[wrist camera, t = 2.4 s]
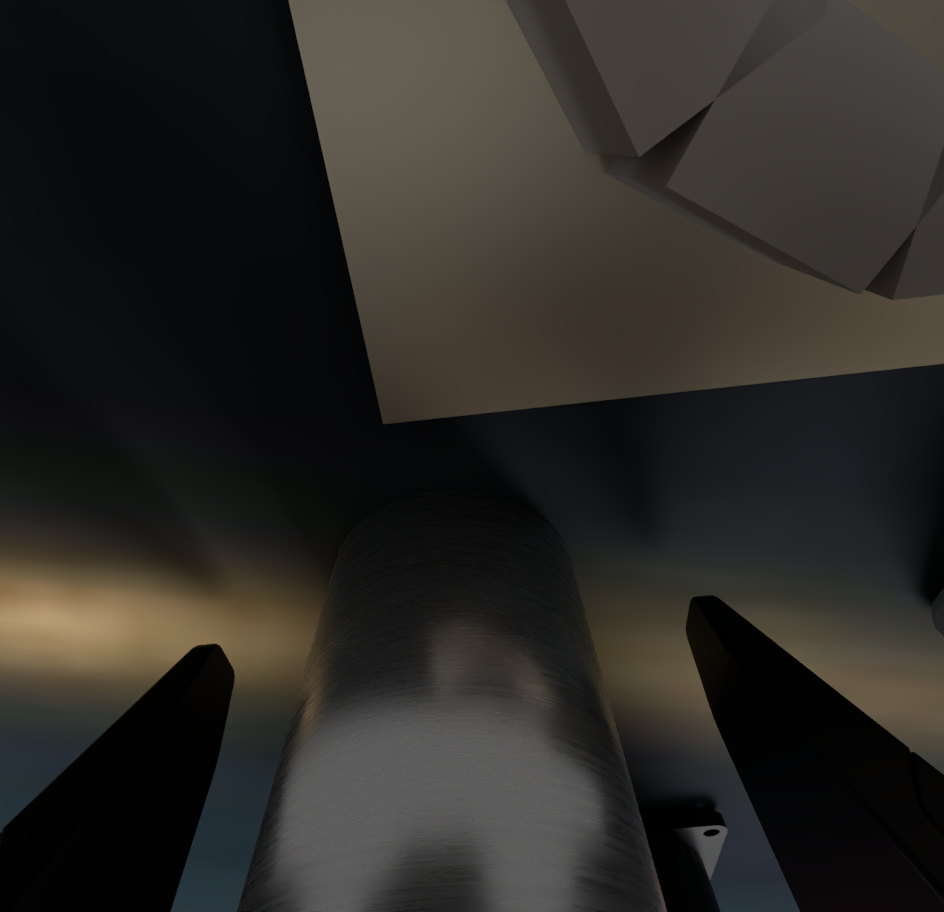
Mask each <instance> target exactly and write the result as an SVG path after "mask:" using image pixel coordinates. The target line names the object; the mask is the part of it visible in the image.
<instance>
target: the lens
mask: <svg viewBox="0 0 944 912" xmlns="http://www.w3.org/2000/svg"><path fill="white" fill-rule="evenodd" d="M237 912H667V909H666V906H665V902H664V899H663V895H662V891H661V888H660V884H659V880H658V877H657V873H656V869H655V866H654V862H653V858H652V855H651V851H650V848H649V844H648V840H647V837H646V833H645V829H644V826H643V822H642V818H641V815H640V811H639V808H638V804H637V800H636V797H635V793H634V789H633V786H632V782H631V778H630V775H629V771H628V768H627V764H626V760H625V757H624V753H623V749H622V746H621V742H620V738H619V735H618V731H617V727H616V724H615V720H614V717H613V713H612V709H611V706H610V702H609V698H608V695H607V691H606V687H605V684H604V680H603V677H602V673H601V669H600V666H599V662H598V658H597V655H596V651H595V647H594V644H593V640H592V637H591V633H590V629H589V626H588V622H587V618H586V615H585V611H584V607H583V604H582V600H581V596H580V593H579V589H578V586H577V582H576V578H575V575H574V571H573V567H572V564H571V560H570V557H569V553H568V550H567V548H566V546H565V544H564V542H563V540H562V538H561V537H560V536H559V534H558V533H557V531H556V530H555V529H554V528H553V527H552V526H551V525H550V524H549V523H548V522H547V521H546V520H545V519H544V518H543V517H541V516H540V515H539V514H537V513H536V512H535V511H533V510H532V509H530V508H528V507H526V506H525V505H523V504H521V503H519V502H516V501H514V500H512V499H509V498H507V497H504V496H500V495H497V494H493V493H490V492H484V491H478V490H471V489H437V490H431V491H424V492H419V493H415V494H412V495H408V496H404V497H402V498H399V499H397V500H394V501H392V502H389V503H387V504H385V505H383V506H382V507H380V508H378V509H376V510H374V511H373V512H372V513H370V514H369V515H368V516H366V517H365V518H363V519H362V520H361V521H360V522H359V523H358V524H357V525H356V526H355V527H354V528H353V529H352V530H351V532H350V533H349V534H348V536H347V537H346V538H345V540H344V542H343V544H342V545H341V547H340V549H339V552H338V555H337V558H336V561H335V565H334V568H333V572H332V575H331V579H330V582H329V586H328V590H327V593H326V597H325V600H324V604H323V607H322V611H321V615H320V618H319V622H318V625H317V629H316V632H315V636H314V639H313V643H312V647H311V650H310V654H309V657H308V661H307V664H306V668H305V671H304V675H303V679H302V682H301V686H300V689H299V693H298V696H297V700H296V704H295V707H294V711H293V714H292V718H291V721H290V725H289V728H288V732H287V736H286V739H285V743H284V746H283V750H282V753H281V757H280V760H279V764H278V768H277V771H276V775H275V778H274V782H273V785H272V789H271V793H270V796H269V800H268V803H267V807H266V810H265V814H264V817H263V821H262V825H261V828H260V832H259V835H258V839H257V842H256V846H255V849H254V853H253V857H252V860H251V864H250V867H249V871H248V874H247V878H246V882H245V885H244V889H243V892H242V896H241V899H240V903H239V906H238V910H237Z"/></svg>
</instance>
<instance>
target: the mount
mask: <svg viewBox="0 0 944 912" xmlns="http://www.w3.org/2000/svg"><path fill="white" fill-rule="evenodd" d="M288 1H289V5H290V10H291V14H292V19H293V23H294V28H295V32H296V37H297V41H298V45H299V50H300V54H301V59H302V63H303V68H304V72H305V77H306V81H307V86H308V90H309V95H310V99H311V104H312V108H313V113H314V117H315V121H316V126H317V130H318V135H319V139H320V144H321V148H322V153H323V157H324V162H325V166H326V171H327V175H328V180H329V184H330V188H331V193H332V197H333V202H334V206H335V211H336V215H337V220H338V224H339V229H340V233H341V238H342V242H343V247H344V251H345V256H346V260H347V264H348V269H349V273H350V278H351V282H352V287H353V291H354V296H355V300H356V305H357V309H358V314H359V318H360V323H361V327H362V332H363V336H364V340H365V345H366V349H367V354H368V358H369V363H370V367H371V372H372V376H373V381H374V385H375V390H376V394H377V399H378V403H379V408H380V412H381V416H382V421H383V424H390V423H400V422H409V421H418V420H427V419H437V418H446V417H455V416H464V415H473V414H483V413H492V412H501V411H510V410H520V409H529V408H538V407H547V406H557V405H566V404H575V403H584V402H594V401H603V400H612V399H621V398H630V397H640V396H649V395H658V394H667V393H677V392H686V391H695V390H704V389H714V388H723V387H732V386H741V385H750V384H760V383H769V382H778V381H787V380H797V379H806V378H815V377H824V376H834V375H843V374H852V373H861V372H871V371H880V370H889V369H898V368H907V367H917V366H926V365H935V364H944V0H288Z"/></svg>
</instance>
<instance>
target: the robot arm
mask: <svg viewBox="0 0 944 912" xmlns="http://www.w3.org/2000/svg"><path fill="white" fill-rule="evenodd" d="M686 634H687V638H688V642H689V645H690V648H691V651H692V654H693V657H694V660H695V663H696V666H697V669H698V672H699V675H700V678H701V681H702V684H703V687H704V690H705V693H706V697H707V700H708V703H709V706H710V709H711V711H712V714H713V717H714V720H715V722H716V724H717V727H718V729H719V732H720V734H721V736H722V738H723V741H724V743H725V745H726V747H727V750H728V752H729V754H730V756H731V758H732V761H733V763H734V765H735V767H736V770H737V772H738V774H739V776H740V779H741V781H742V783H743V785H744V787H745V790H746V792H747V794H748V796H749V799H750V801H751V803H752V805H753V807H754V810H755V812H756V814H757V816H758V819H759V821H760V823H761V825H762V828H763V830H764V832H765V834H766V836H767V839H768V841H769V843H770V845H771V848H772V850H773V852H774V854H775V857H776V859H777V861H778V863H779V865H780V868H781V870H782V872H783V874H784V877H785V879H786V881H787V883H788V885H789V888H790V890H791V892H792V894H793V897H794V899H795V901H796V903H797V906H798V908H799V910H800V912H944V775H943V774H942V773H940V772H939V771H938V770H937V769H935V768H934V767H933V766H931V765H930V764H929V763H928V762H926V761H925V760H924V759H923V758H921V757H920V756H919V755H917V754H916V753H914V752H911V753H910V750H909V748H908V747H907V746H906V745H904V744H903V743H902V742H901V741H899V740H898V739H897V738H896V737H894V736H893V735H892V734H891V733H889V732H888V731H887V730H885V729H884V728H883V727H882V726H880V725H879V724H878V723H877V722H875V721H874V720H873V719H871V718H870V717H869V716H868V715H866V714H865V713H864V712H863V711H861V710H860V709H859V708H858V707H856V706H855V705H854V704H852V703H851V702H850V701H849V700H847V699H846V698H845V697H844V696H842V695H841V694H840V693H838V692H837V691H836V690H835V689H833V688H832V687H831V686H830V685H828V684H827V683H826V682H825V681H823V680H822V679H821V678H819V677H818V676H817V675H816V674H814V673H813V672H812V671H811V670H809V669H808V668H807V667H805V666H804V665H803V664H802V663H800V662H799V661H798V660H797V659H795V658H794V657H793V656H791V655H790V654H789V653H788V652H786V651H785V650H784V649H783V648H781V647H780V646H779V645H778V644H776V643H775V642H774V641H772V640H771V639H770V638H769V637H767V636H766V635H765V634H764V633H762V632H761V631H760V630H758V629H757V628H756V627H755V626H753V625H752V624H751V623H750V622H748V621H747V620H746V619H745V618H743V617H742V616H741V615H739V614H738V613H737V612H736V611H734V610H733V609H732V608H731V607H729V606H728V605H727V604H725V603H724V602H723V601H722V600H720V599H719V598H718V597H716V596H713V595H708V596H697V597H693V598H692V599H691V601H690V605H689V611H688V617H687V622H686ZM234 679H235V675H234V670H233V667H232V666H231V664H230V662H229V660H228V659H227V657H226V655H225V653H224V651H223V650H222V648H221V647H220V646H219V645H218V644H206V645H198V646H196V647H194V648H192V649H191V650H190V651H189V652H188V653H187V654H186V655H185V656H184V657H183V658H182V659H181V660H179V661H178V662H177V663H176V664H175V665H174V666H173V667H172V668H171V669H170V670H169V671H168V672H167V673H166V674H165V675H164V676H163V677H162V678H161V679H159V680H158V681H157V682H156V683H155V684H154V685H153V686H152V687H151V688H150V689H149V690H148V691H147V692H146V693H145V694H144V695H143V696H142V697H141V698H140V699H138V700H137V701H136V702H135V703H134V704H133V705H132V706H131V707H130V708H129V709H128V710H127V711H126V712H125V713H124V714H123V715H122V716H121V717H120V718H118V719H117V720H116V721H115V722H114V723H113V724H112V725H111V726H110V727H109V728H108V729H107V730H106V731H105V732H104V733H103V734H102V735H101V736H100V737H98V738H97V739H96V740H95V741H94V742H93V743H92V744H91V745H90V746H89V747H88V748H87V749H86V750H85V751H84V752H83V753H82V754H81V755H80V756H78V757H77V758H76V759H75V760H74V761H73V762H72V763H71V764H70V765H69V766H68V767H67V768H66V769H65V770H64V771H63V772H62V773H61V774H60V775H58V776H57V777H56V778H55V779H54V780H53V781H52V782H51V783H50V784H49V785H48V786H47V787H46V788H45V789H44V790H43V791H42V792H41V793H40V794H38V795H37V796H36V797H35V798H34V799H33V800H32V801H31V802H30V803H29V804H28V805H27V806H26V807H25V808H24V809H23V810H22V811H21V812H20V813H19V814H17V815H16V816H15V817H14V818H13V819H12V820H11V821H10V822H9V823H8V824H7V825H6V826H5V827H4V828H3V830H2V833H1V832H0V912H170V911H171V908H172V905H173V902H174V899H175V895H176V892H177V889H178V886H179V883H180V880H181V876H182V873H183V870H184V867H185V864H186V861H187V857H188V854H189V851H190V848H191V845H192V842H193V838H194V835H195V832H196V829H197V826H198V823H199V819H200V816H201V813H202V810H203V807H204V804H205V800H206V797H207V794H208V791H209V788H210V785H211V781H212V778H213V775H214V771H215V768H216V765H217V761H218V756H219V752H220V748H221V743H222V738H223V733H224V729H225V724H226V719H227V714H228V710H229V705H230V700H231V695H232V691H233V686H234ZM641 818H642V822H643V826H644V829H645V833H646V837H647V840H648V844H649V848H650V851H651V855H652V858H653V862H654V866H655V869H656V873H657V877H658V880H659V884H660V888H661V891H662V895H663V899H664V902H665V906H666V909H667V912H720V909H719V906H718V903H717V900H716V897H715V895H714V892H713V889H712V886H711V883H710V880H711V877H712V874H713V871H714V868H715V865H716V863H717V860H718V857H719V854H720V851H721V848H722V846H723V843H724V840H725V837H726V834H727V832H728V831H727V827H726V824H725V822H724V819H723V817H722V814H720V813H719V812H716V811H703V812H691V813H680V814H668V815H656V816H645V817H641Z"/></svg>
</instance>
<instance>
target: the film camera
mask: <svg viewBox="0 0 944 912" xmlns="http://www.w3.org/2000/svg"><path fill="white" fill-rule="evenodd" d="M932 618H933V622H934V625H935V628H936V629H937V630H938V631H939V632H940V633H941V634H942V635H943V636H944V588H943V590H942V591H941V592H940V594H939V595H938V596H937V597H936V599H935V600H934V601H933V602H932Z"/></svg>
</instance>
